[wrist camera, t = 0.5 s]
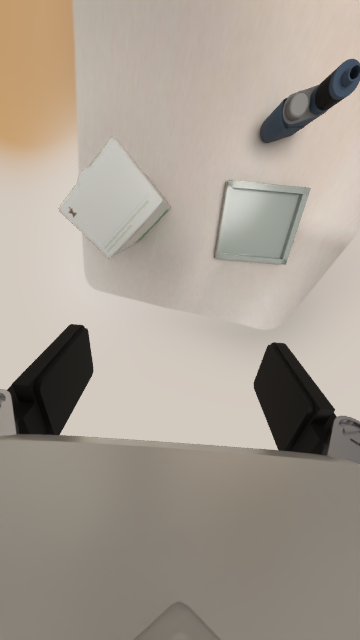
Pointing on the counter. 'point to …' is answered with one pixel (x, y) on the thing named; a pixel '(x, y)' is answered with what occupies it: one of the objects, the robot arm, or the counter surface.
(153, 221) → the skincare box
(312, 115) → the vaping device
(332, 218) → the counter surface
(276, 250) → the tray
